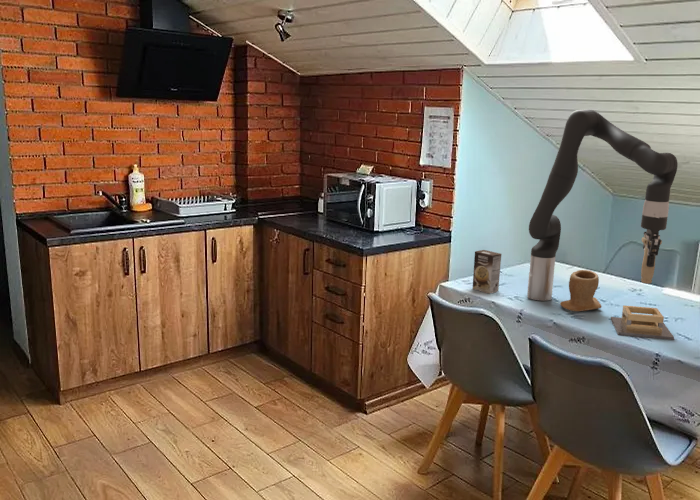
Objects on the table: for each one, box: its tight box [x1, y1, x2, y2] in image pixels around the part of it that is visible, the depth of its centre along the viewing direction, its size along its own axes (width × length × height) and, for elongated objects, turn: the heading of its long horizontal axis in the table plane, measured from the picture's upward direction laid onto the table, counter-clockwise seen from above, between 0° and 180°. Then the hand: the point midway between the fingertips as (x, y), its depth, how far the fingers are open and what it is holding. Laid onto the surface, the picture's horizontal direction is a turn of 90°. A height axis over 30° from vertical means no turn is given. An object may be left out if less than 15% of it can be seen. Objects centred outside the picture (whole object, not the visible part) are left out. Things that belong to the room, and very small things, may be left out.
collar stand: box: [610, 305, 675, 341], centre depth 209 cm, size 17×16×6 cm
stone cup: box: [559, 269, 602, 312], centre depth 228 cm, size 15×12×15 cm
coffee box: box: [472, 249, 502, 295], centre depth 251 cm, size 9×6×16 cm
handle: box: [640, 236, 663, 285], centre depth 204 cm, size 5×6×15 cm
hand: (648, 264), depth 204 cm, fingers closed on handle, 4 cm apart
